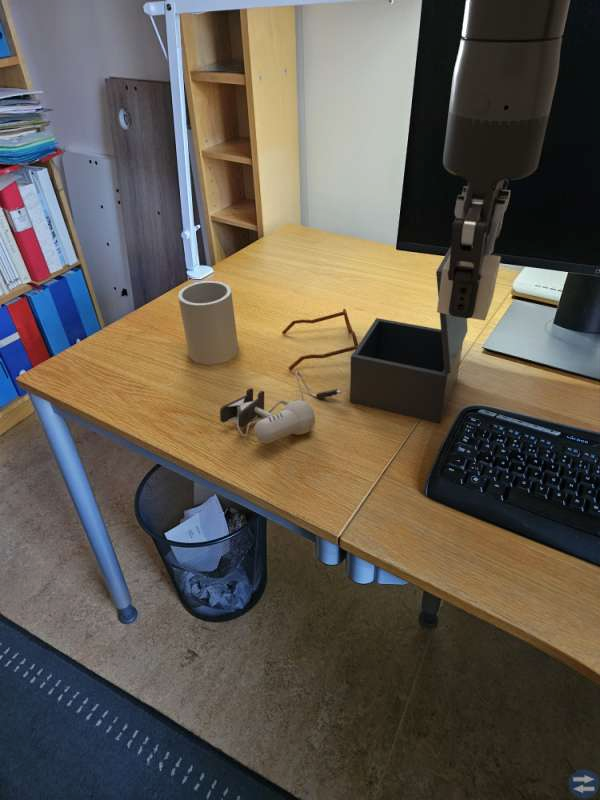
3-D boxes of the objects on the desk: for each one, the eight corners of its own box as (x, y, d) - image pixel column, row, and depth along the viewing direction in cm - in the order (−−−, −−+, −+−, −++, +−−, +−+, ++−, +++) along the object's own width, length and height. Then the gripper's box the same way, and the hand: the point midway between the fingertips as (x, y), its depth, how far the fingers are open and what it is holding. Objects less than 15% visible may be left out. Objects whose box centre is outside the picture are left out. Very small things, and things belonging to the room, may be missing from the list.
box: (349, 402, 90) (350, 356, 85) (374, 361, 99) (376, 317, 94) (440, 423, 85) (447, 376, 80) (457, 378, 94) (464, 333, 89)
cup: (246, 354, 102) (239, 295, 95) (200, 370, 99) (190, 310, 91) (225, 333, 109) (217, 276, 101) (181, 347, 105) (170, 289, 98)
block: (492, 299, 55) (501, 256, 52) (485, 320, 52) (494, 275, 49) (446, 292, 56) (452, 249, 54) (436, 312, 53) (442, 268, 50)
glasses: (361, 364, 98) (362, 339, 95) (288, 371, 97) (287, 347, 94) (347, 327, 109) (348, 304, 106) (281, 333, 108) (279, 310, 105)
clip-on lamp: (297, 396, 96) (215, 428, 84) (299, 362, 94) (214, 389, 82) (350, 419, 89) (268, 457, 77) (354, 383, 87) (269, 416, 74)
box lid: (435, 271, 71) (442, 271, 71) (456, 236, 80) (462, 235, 80) (444, 373, 79) (450, 373, 79) (462, 330, 88) (467, 330, 88)
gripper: (542, 129, 37) (494, 348, 47) (557, 91, 47) (515, 278, 58) (429, 123, 39) (408, 332, 50) (466, 88, 50) (442, 268, 60)
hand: (465, 302), depth 54 cm, fingers closed on block, 4 cm apart
